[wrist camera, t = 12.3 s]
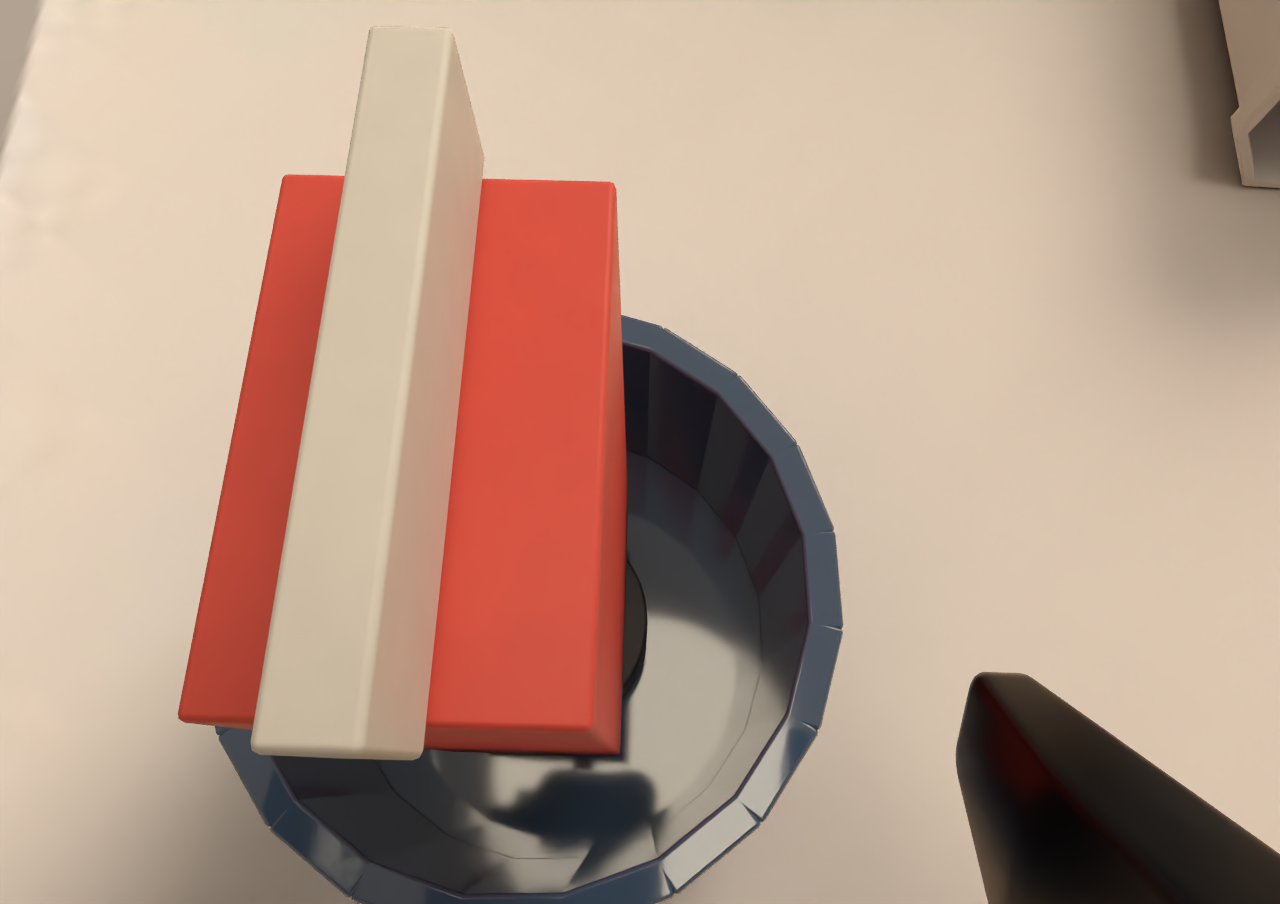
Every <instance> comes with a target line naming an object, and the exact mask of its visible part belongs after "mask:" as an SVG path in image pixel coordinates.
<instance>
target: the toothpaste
mask: <svg viewBox="0 0 1280 904" xmlns="http://www.w3.org/2000/svg"><path fill="white" fill-rule="evenodd" d="M483 166H484V154H483V150H482V146H481V142H480V138H479V134H478V130H477V126H476V122H475V118H474V114H473V110H472V106H471V102H470V98H469V94H468V90H467V86H466V82H465V78H464V74H463V70H462V66H461V62H460V58H459V54H458V50H457V46H456V42H455V38H454V36H453V33H452V32H451V30H450V29H447V28H440V27H393V26H375V27H372V28H371V29H370V30H369V35H368V41H367V47H366V53H365V59H364V65H363V71H362V77H361V83H360V89H359V95H358V101H357V107H356V113H355V119H354V125H353V131H352V137H351V143H350V149H349V155H348V161H347V167H346V173H345V176H327V175H286V176H284V177H283V179H282V184H281V189H280V194H279V199H278V204H277V209H276V214H275V219H274V224H273V230H272V235H271V240H270V245H269V250H268V255H267V260H266V265H265V271H264V276H263V281H262V286H261V291H260V296H259V301H258V306H257V312H256V317H255V322H254V327H253V332H252V337H251V342H250V347H249V352H248V358H247V363H246V368H245V373H244V378H243V383H242V388H241V393H240V399H239V404H238V409H237V414H236V419H235V424H234V429H233V434H232V439H231V445H230V450H229V455H228V460H227V465H226V470H225V475H224V480H223V486H222V491H221V496H220V501H219V506H218V511H217V516H216V521H215V526H214V532H213V537H212V542H211V547H210V552H209V557H208V562H207V567H206V573H205V578H204V583H203V588H202V593H201V598H200V603H199V608H198V614H197V619H196V624H195V629H194V634H193V639H192V644H191V649H190V654H189V660H188V665H187V670H186V675H185V680H184V685H183V690H182V695H181V701H180V706H179V711H178V716H179V719H180V720H181V721H183V722H185V723H193V724H202V725H212V726H221V727H230V728H239V729H248V730H252V736H251V749H252V751H254V752H256V753H258V754H260V755H276V756H298V757H320V758H344V759H380V760H415V759H417V758H420V756H421V754H422V752H423V749H432V750H441V751H451V752H481V753H518V754H554V755H591V756H618V755H619V754H620V746H621V714H622V700H623V699H624V698H625V696H626V695H627V694H628V692H629V691H630V689H631V688H632V686H633V685H634V683H635V681H636V679H637V677H638V675H639V672H640V669H641V667H642V664H643V660H644V656H645V651H646V640H647V625H648V620H647V606H646V600H645V595H644V592H643V589H642V586H641V583H640V581H639V578H638V576H637V574H636V572H635V570H634V569H633V567H632V566H631V564H630V562H629V561H628V559H627V558H626V556H627V524H628V483H627V457H626V432H625V406H624V380H623V354H622V328H621V302H620V276H619V250H618V225H617V199H616V188H615V186H614V184H613V183H611V182H595V181H550V180H506V179H482V176H483Z"/></svg>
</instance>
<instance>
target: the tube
mask: <svg viewBox="0 0 1280 904" xmlns="http://www.w3.org/2000/svg"><path fill="white" fill-rule="evenodd" d="M1218 1H1219V6H1220V11H1221V16H1222V21H1223V26H1224V32H1225V37H1226V42H1227V47H1228V52H1229V57H1230V62H1231V67H1232V72H1233V78H1234V83H1235V88H1236V93H1237V98H1238V103H1239V108H1238V109H1237V110H1236V111H1235V112H1234V114H1233V115H1232V116H1231V117H1230V118H1231V125H1232V131H1233V137H1234V142H1235V148H1236V153H1237V158H1238V164H1239V169H1240V174H1241V180H1242V185H1245V186H1256V187H1272V188H1280V0H1218Z"/></svg>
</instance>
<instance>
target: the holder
mask: <svg viewBox="0 0 1280 904" xmlns="http://www.w3.org/2000/svg"><path fill="white" fill-rule="evenodd" d="M621 328H622V354H623V380H624V406H625V432H626V457H627V483H628V524H627V556H626V558H627V559H628V561H629V562H630V564H631V566H632V567H633V569H634V570H635V572H636V574H637V576H638V578H639V581H640V583H641V586H642V589H643V592H644V595H645V600H646V606H647V620H648V625H647V640H646V651H645V656H644V660H643V664H642V667H641V669H640V672H639V675H638V677H637V679H636V681H635V683H634V685H633V686H632V688H631V689H630V691H629V692H628V694H627V695H626V696H625V698H624V699H623V700H622V714H621V746H620V754H619V755H618V756H591V755H554V754H518V753H481V752H451V751H441V750H432V749H423V752H422V754H421V756H420V758H417V759H415V760H380V759H344V758H320V757H298V756H276V755H260V754H258V753H256V752H254V751H252V749H251V736H252V730H248V729H239V728H230V727H221V726H215V728H216V733H217V735H220V736H219V741H220V743H221V745H222V746H223V748H224V750H225V752H226V754H227V755H228V757H229V759H230V761H231V763H232V764H233V766H234V768H235V770H236V772H237V774H238V775H239V777H240V779H241V781H242V783H243V784H244V786H245V788H246V790H247V792H248V794H249V795H250V797H251V799H252V801H253V803H254V804H255V806H256V808H257V810H258V812H259V814H260V815H261V817H262V819H263V821H264V823H265V824H266V825H267V826H268V827H270V830H271V832H272V833H273V834H274V835H276V836H277V837H278V838H279V839H280V840H281V841H283V842H284V843H285V844H286V845H287V846H288V847H289V848H291V849H292V850H293V851H294V852H295V853H296V854H298V855H299V856H300V857H301V858H302V859H303V860H305V861H306V862H307V863H308V864H309V865H310V866H312V867H313V868H314V869H315V870H316V871H317V872H319V873H320V874H321V875H322V876H323V877H324V878H325V879H327V880H328V881H329V882H330V883H331V884H332V885H334V886H335V887H336V888H337V889H338V890H339V891H341V892H342V893H343V894H344V895H345V896H346V897H352V899H353V900H354V901H355V902H358V903H360V904H657V903H660V902H662V901H665V900H668V899H670V898H672V897H673V896H674V893H675V894H679V893H680V892H682V891H683V890H684V889H685V888H686V887H688V886H689V885H690V884H691V883H693V882H694V881H695V880H696V879H697V878H699V877H700V876H701V875H702V874H703V873H705V872H706V871H707V870H708V869H709V868H711V867H712V866H713V865H714V864H715V863H717V862H718V861H719V860H720V859H721V858H723V857H724V856H725V855H726V854H727V853H729V852H730V851H731V850H732V849H733V848H735V847H736V846H737V845H738V844H739V843H741V842H742V841H743V840H744V839H745V838H747V837H748V836H749V835H750V834H751V833H753V832H754V831H755V830H756V829H757V828H759V826H760V822H763V821H764V820H765V819H766V818H767V816H768V815H769V813H770V811H771V810H772V808H773V806H774V805H775V803H776V802H777V800H778V798H779V797H780V795H781V793H782V792H783V790H784V789H785V787H786V785H787V784H788V782H789V780H790V779H791V777H792V775H793V774H794V772H795V771H796V769H797V767H798V766H799V764H800V762H801V761H802V759H803V758H804V756H805V754H806V753H807V751H808V749H809V748H810V746H811V745H812V743H813V741H814V740H815V738H816V736H817V734H818V731H817V730H819V729H820V727H821V724H822V720H823V716H824V711H825V707H826V703H827V699H828V694H829V690H830V686H831V681H832V677H833V673H834V669H835V664H836V660H837V656H838V652H839V647H840V643H841V639H842V635H843V632H842V630H841V629H842V627H843V617H842V605H841V594H840V582H839V570H838V559H837V547H836V536H835V533H834V532H833V530H834V527H833V525H832V522H831V520H830V517H829V515H828V513H827V510H826V508H825V506H824V503H823V501H822V498H821V496H820V494H819V491H818V489H817V487H816V484H815V482H814V480H813V477H812V475H811V472H810V470H809V468H808V465H807V463H806V461H805V458H804V456H803V453H802V451H801V449H800V447H799V446H798V445H797V442H796V440H795V439H794V438H793V437H792V436H791V434H790V433H789V432H788V431H787V430H786V429H785V427H784V426H783V425H782V424H781V423H780V422H779V420H778V419H777V418H776V417H775V416H774V415H773V413H772V412H771V411H770V410H769V409H768V408H767V406H766V405H765V404H764V403H763V402H762V401H761V399H760V398H759V397H758V396H757V395H756V394H755V392H754V391H753V390H752V389H751V388H750V386H749V385H748V384H747V383H746V382H745V381H744V379H743V378H742V377H741V376H738V375H737V373H736V372H734V371H733V370H731V369H730V368H728V367H726V366H725V365H723V364H722V363H720V362H718V361H717V360H715V359H714V358H712V357H711V356H709V355H707V354H706V353H704V352H703V351H701V350H699V349H698V348H696V347H695V346H693V345H692V344H690V343H688V342H687V341H685V340H684V339H682V338H681V337H679V336H677V335H676V334H674V333H673V332H671V331H669V330H668V329H666V328H664V329H663V328H662V327H661V326H659V325H655V324H652V323H648V322H645V321H641V320H638V319H634V318H630V317H627V316H623V315H621Z"/></svg>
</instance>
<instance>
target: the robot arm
mask: <svg viewBox="0 0 1280 904" xmlns="http://www.w3.org/2000/svg"><path fill="white" fill-rule="evenodd" d="M956 767H957V774H958V779H959V783H960V787H961V791H962V795H963V799H964V804H965V808H966V812H967V816H968V820H969V825H970V829H971V833H972V837H973V841H974V845H975V850H976V854H977V858H978V862H979V866H980V870H981V875H982V879H983V883H984V887H985V891H986V896H987V900H988V904H1280V854H1279V853H1277V852H1276V851H1275V850H1273V849H1272V848H1270V847H1269V846H1268V845H1266V844H1265V843H1263V842H1262V841H1261V840H1259V839H1258V838H1256V837H1255V836H1254V835H1252V834H1251V833H1249V832H1248V831H1247V830H1245V829H1244V828H1242V827H1241V826H1239V825H1238V824H1237V823H1235V822H1234V821H1232V820H1231V819H1230V818H1228V817H1227V816H1225V815H1224V814H1223V813H1221V812H1220V811H1218V810H1217V809H1216V808H1214V807H1213V806H1211V805H1210V804H1209V803H1207V802H1206V801H1204V800H1203V799H1202V798H1200V797H1199V796H1197V795H1196V794H1195V793H1193V792H1192V791H1190V790H1189V789H1187V788H1186V787H1185V786H1183V785H1182V784H1180V783H1179V782H1178V781H1176V780H1175V779H1173V778H1172V777H1171V776H1169V775H1168V774H1166V773H1165V772H1164V771H1162V770H1161V769H1159V768H1158V767H1157V766H1155V765H1154V764H1152V763H1151V762H1150V761H1148V760H1147V759H1145V758H1144V757H1142V756H1141V755H1140V754H1138V753H1137V752H1135V751H1134V750H1133V749H1131V748H1130V747H1128V746H1127V745H1126V744H1124V743H1123V742H1121V741H1120V740H1119V739H1117V738H1116V737H1114V736H1113V735H1112V734H1110V733H1109V732H1107V731H1106V730H1105V729H1103V728H1102V727H1100V726H1099V725H1098V724H1096V723H1095V722H1093V721H1092V720H1090V719H1089V718H1088V717H1086V716H1085V715H1083V714H1082V713H1081V712H1079V711H1078V710H1076V709H1075V708H1074V707H1072V706H1071V705H1069V704H1068V703H1067V702H1065V701H1064V700H1062V699H1061V698H1060V697H1058V696H1057V695H1055V694H1054V693H1053V692H1051V691H1050V690H1048V689H1047V688H1046V687H1044V686H1043V685H1041V684H1040V683H1038V682H1037V681H1036V680H1034V679H1033V678H1031V677H1029V676H1028V675H1025V674H1021V673H999V672H982V673H980V674H978V675H976V676H975V677H974V679H973V680H972V682H971V684H970V688H969V692H968V696H967V701H966V705H965V710H964V714H963V719H962V723H961V728H960V732H959V737H958V741H957V747H956Z"/></svg>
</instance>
